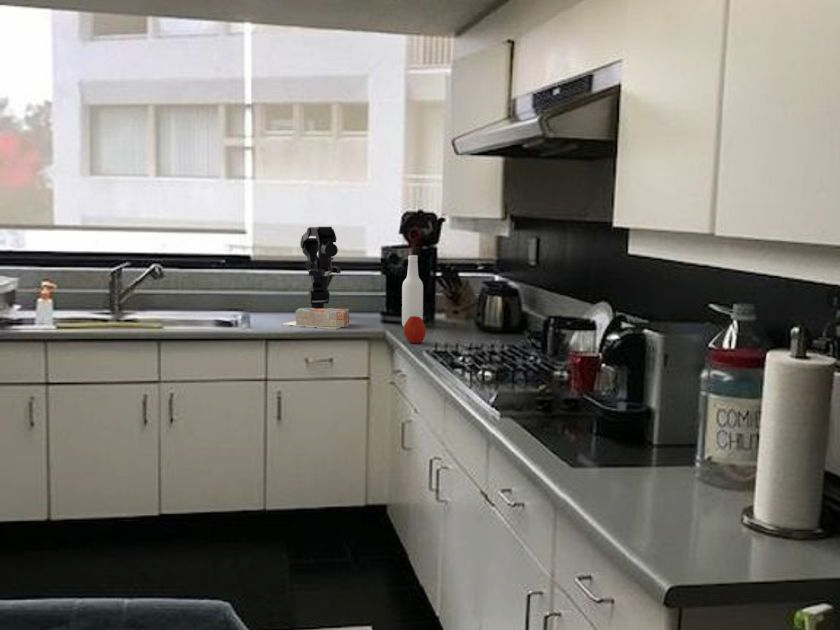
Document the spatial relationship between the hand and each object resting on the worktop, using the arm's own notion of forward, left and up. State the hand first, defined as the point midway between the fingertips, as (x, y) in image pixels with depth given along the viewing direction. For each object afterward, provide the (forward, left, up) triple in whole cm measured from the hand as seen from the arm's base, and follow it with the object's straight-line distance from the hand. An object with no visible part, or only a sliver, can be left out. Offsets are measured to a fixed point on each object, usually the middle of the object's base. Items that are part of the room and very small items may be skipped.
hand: (324, 290), depth 400 cm
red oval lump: (+39, +60, -13) cm, 73 cm away
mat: (+16, +4, -13) cm, 21 cm away
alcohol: (0, +42, -13) cm, 44 cm away
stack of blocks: (+9, +5, -10) cm, 14 cm away
